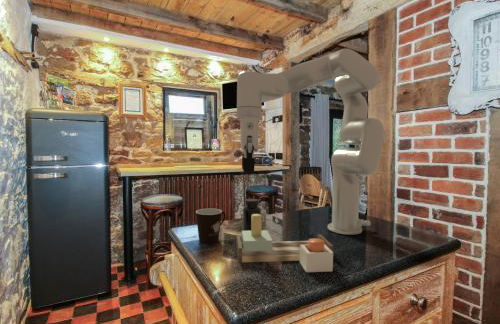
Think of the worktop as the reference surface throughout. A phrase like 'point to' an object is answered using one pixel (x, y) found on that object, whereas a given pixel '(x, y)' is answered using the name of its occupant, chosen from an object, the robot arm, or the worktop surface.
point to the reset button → (315, 245)
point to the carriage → (256, 236)
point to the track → (276, 251)
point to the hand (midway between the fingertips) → (247, 170)
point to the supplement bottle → (250, 212)
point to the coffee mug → (209, 225)
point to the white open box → (316, 259)
